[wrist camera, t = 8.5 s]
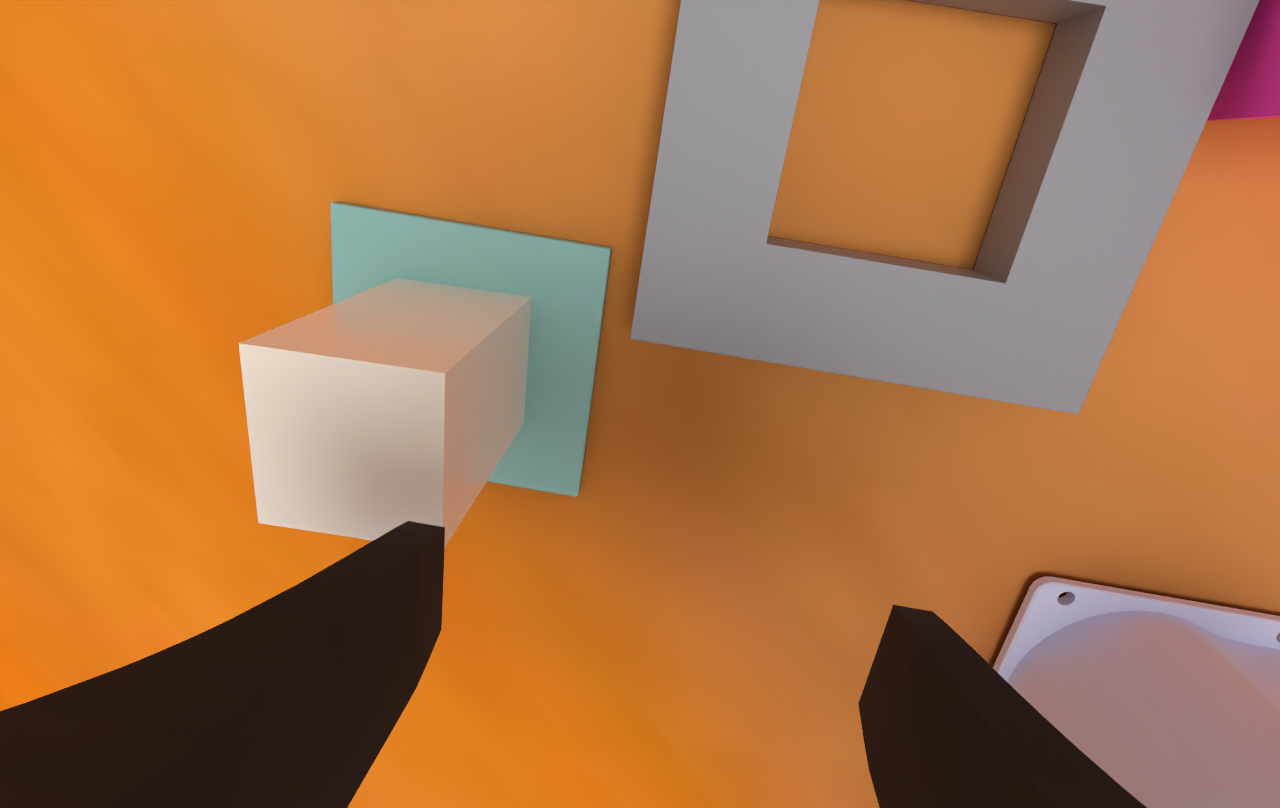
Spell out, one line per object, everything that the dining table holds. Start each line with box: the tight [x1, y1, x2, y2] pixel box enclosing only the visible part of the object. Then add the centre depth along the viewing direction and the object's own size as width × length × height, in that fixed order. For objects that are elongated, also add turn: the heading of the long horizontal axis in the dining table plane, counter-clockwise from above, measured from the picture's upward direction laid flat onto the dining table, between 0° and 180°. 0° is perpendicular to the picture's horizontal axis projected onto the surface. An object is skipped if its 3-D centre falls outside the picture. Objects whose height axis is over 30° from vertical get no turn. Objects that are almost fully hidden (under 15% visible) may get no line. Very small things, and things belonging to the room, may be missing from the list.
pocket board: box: [630, 0, 1259, 414], centre depth 16 cm, size 12×12×2 cm
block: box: [239, 278, 532, 548], centre depth 16 cm, size 4×4×7 cm
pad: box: [330, 202, 612, 497], centre depth 20 cm, size 8×8×1 cm
